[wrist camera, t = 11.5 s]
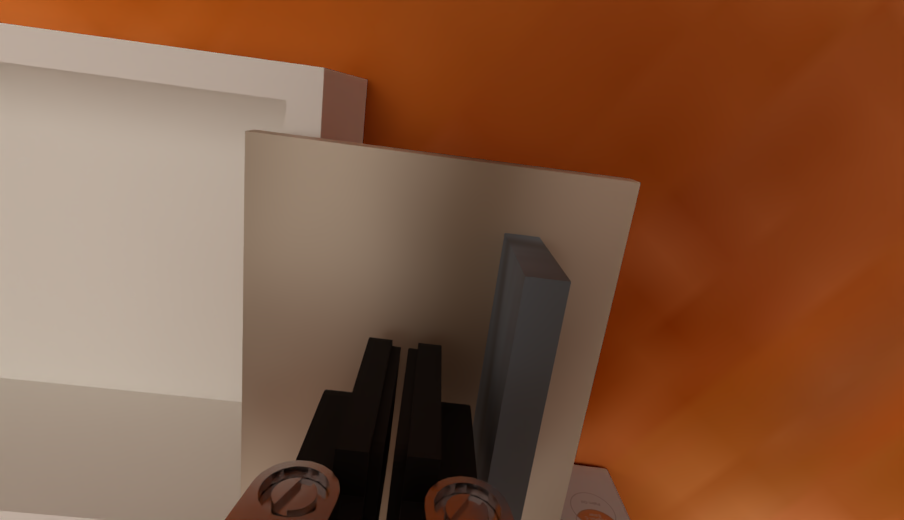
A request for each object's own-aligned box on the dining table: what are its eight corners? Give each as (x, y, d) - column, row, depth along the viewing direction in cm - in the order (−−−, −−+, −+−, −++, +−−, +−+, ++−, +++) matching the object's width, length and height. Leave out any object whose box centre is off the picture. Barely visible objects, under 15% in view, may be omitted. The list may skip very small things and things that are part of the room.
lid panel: (247, 524, 15) (188, 654, 11) (254, 129, 11) (174, 142, 8) (544, 550, 15) (574, 683, 12) (631, 178, 12) (707, 210, 8)
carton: (369, 79, 18) (326, 68, 11) (342, 421, 22) (299, 559, 16) (-176, 4, 17) (-572, -57, 10) (-99, 377, 21) (-346, 504, 15)
